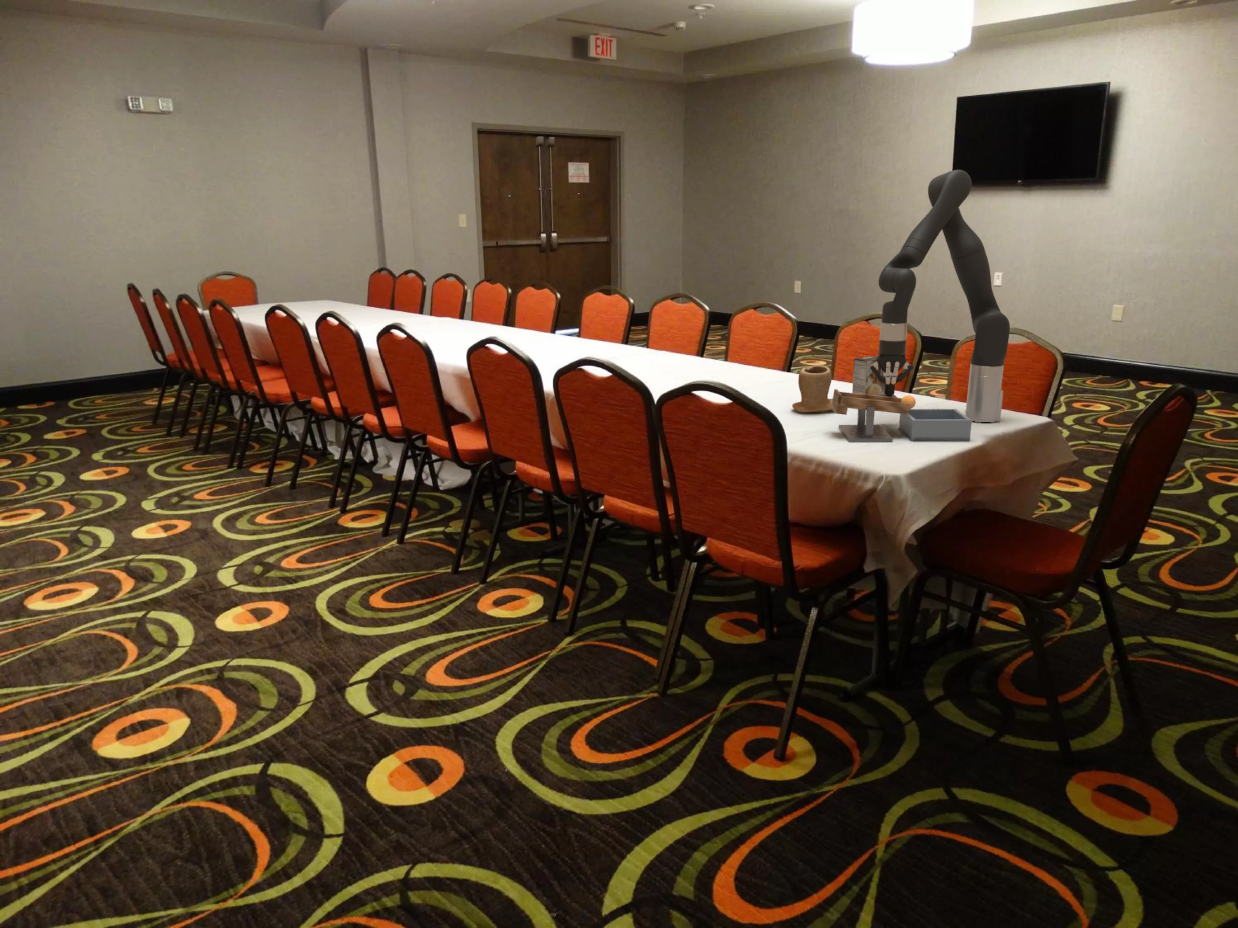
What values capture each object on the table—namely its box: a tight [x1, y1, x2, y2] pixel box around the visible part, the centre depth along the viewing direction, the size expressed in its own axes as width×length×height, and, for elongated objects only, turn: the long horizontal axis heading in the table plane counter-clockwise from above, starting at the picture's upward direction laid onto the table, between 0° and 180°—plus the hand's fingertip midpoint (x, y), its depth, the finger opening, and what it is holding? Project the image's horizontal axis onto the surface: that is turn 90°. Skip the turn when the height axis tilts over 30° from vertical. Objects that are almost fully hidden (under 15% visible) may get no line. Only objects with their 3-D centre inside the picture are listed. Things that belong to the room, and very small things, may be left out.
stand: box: [838, 406, 893, 443], centre depth 242 cm, size 12×16×10 cm
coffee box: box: [851, 355, 884, 396], centre depth 277 cm, size 9×6×16 cm
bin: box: [898, 408, 973, 442], centre depth 241 cm, size 16×14×6 cm
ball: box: [901, 394, 916, 409], centre depth 240 cm, size 4×4×4 cm
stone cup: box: [791, 364, 833, 413], centre depth 271 cm, size 15×12×15 cm
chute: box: [831, 388, 910, 416], centre depth 245 cm, size 20×18×6 cm
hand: (888, 396), depth 250 cm, fingers closed
